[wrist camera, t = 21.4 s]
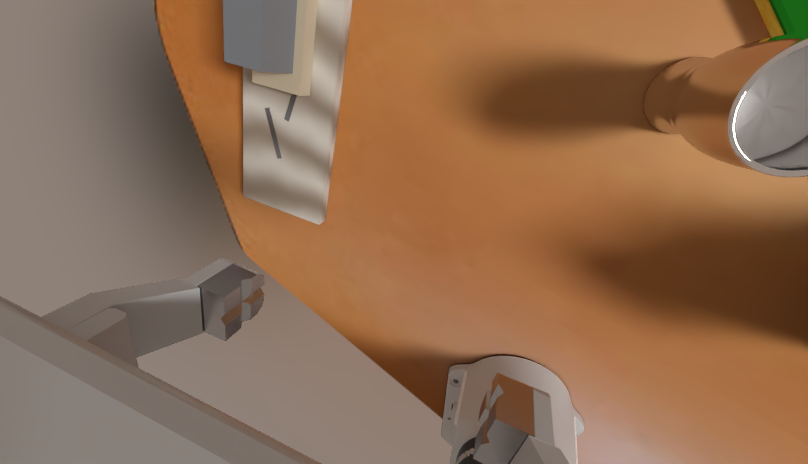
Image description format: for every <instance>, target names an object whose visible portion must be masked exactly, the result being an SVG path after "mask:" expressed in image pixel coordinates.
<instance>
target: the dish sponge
mask: <svg viewBox="0 0 808 464" xmlns="http://www.w3.org/2000/svg"><path fill="white" fill-rule="evenodd" d="M754 2H755V4H756V6H757V8H758V10H759V12H760V14H761V17H762V19H763V21H764V23H765V25H766V27H767V29H768V32H769V34H770V36H771V37H774V36H780V35H787V34H795V33H803V32H808V0H754Z"/></svg>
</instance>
